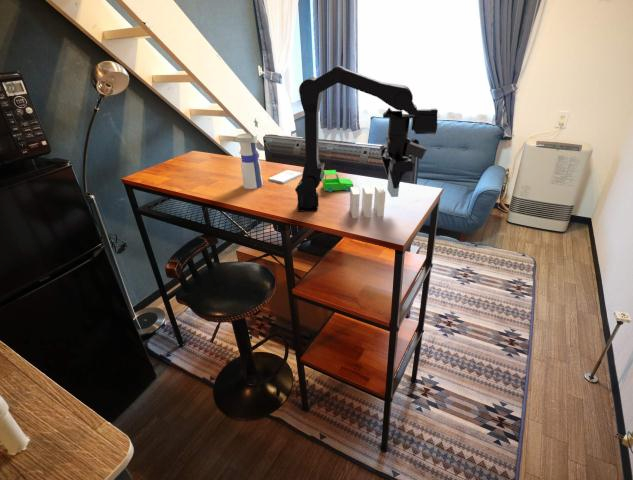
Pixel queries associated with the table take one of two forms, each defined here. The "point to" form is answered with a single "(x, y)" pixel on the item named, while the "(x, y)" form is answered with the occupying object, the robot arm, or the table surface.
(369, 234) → the table surface
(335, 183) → the toy car
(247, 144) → the water bottle
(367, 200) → the tile
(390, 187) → the tile
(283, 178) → the external hard drive
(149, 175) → the table surface
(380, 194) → the tile
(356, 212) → the tile
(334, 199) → the table surface
